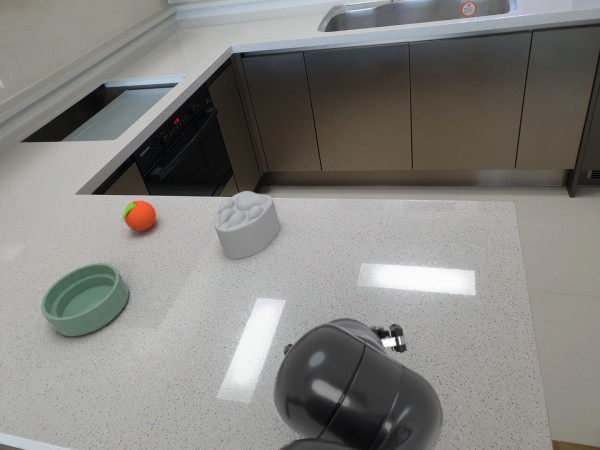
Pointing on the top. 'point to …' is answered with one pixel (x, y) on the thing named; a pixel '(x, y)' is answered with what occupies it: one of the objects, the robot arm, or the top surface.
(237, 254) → the lumpy-topped squat cylinder
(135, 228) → the clementine
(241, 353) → the top surface
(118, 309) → the bowl
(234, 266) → the top surface
